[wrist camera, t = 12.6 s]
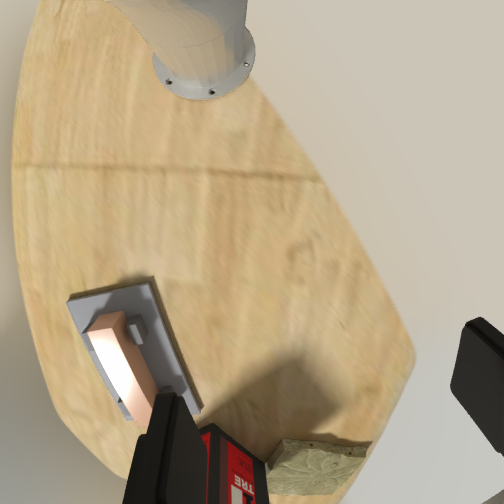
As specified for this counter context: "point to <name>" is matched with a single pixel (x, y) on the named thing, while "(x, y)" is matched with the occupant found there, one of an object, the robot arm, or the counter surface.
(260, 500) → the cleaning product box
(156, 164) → the counter surface
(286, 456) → the decorative tile
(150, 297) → the grey plate with pegs
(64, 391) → the counter surface
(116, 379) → the clay strip
